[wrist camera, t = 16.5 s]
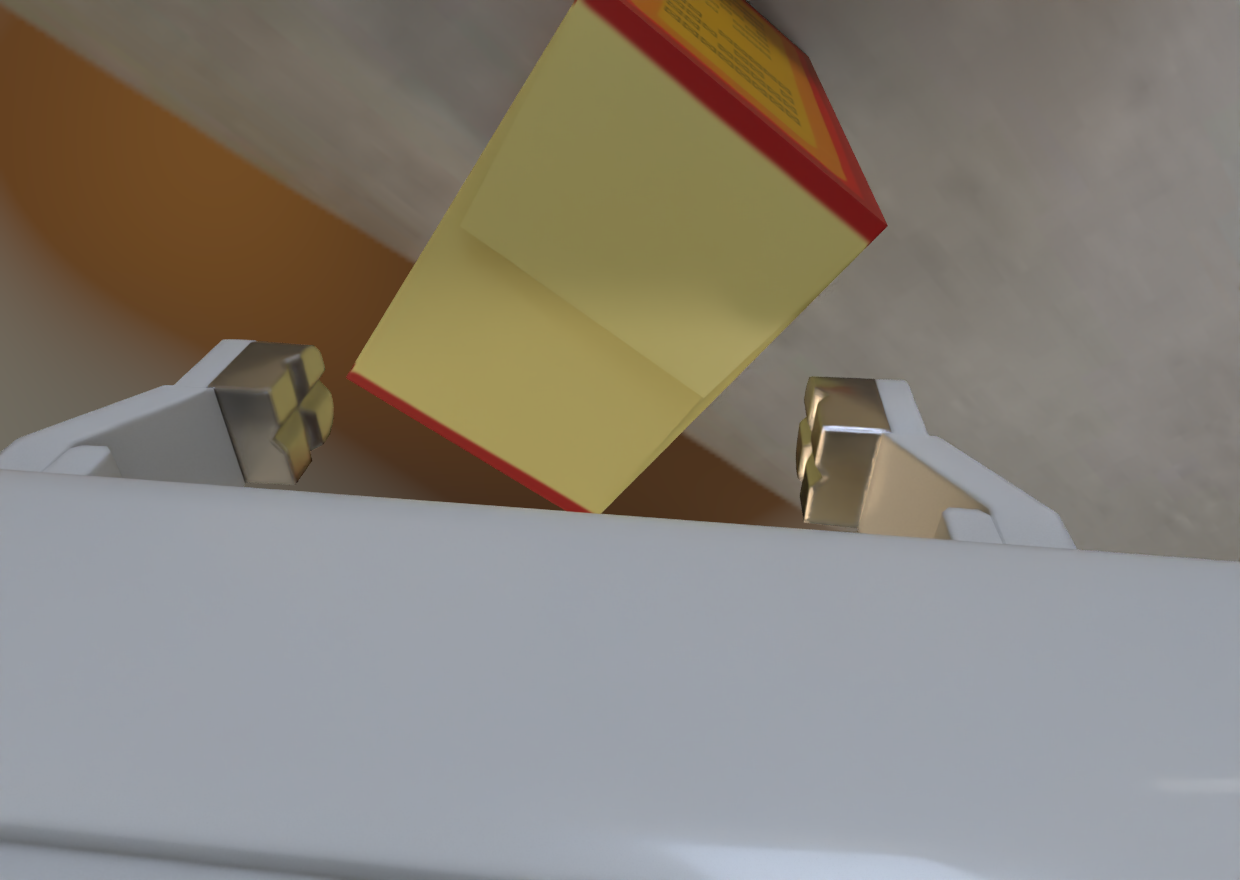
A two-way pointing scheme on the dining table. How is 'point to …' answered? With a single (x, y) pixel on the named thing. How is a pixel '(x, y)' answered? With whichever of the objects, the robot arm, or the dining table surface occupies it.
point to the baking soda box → (623, 246)
